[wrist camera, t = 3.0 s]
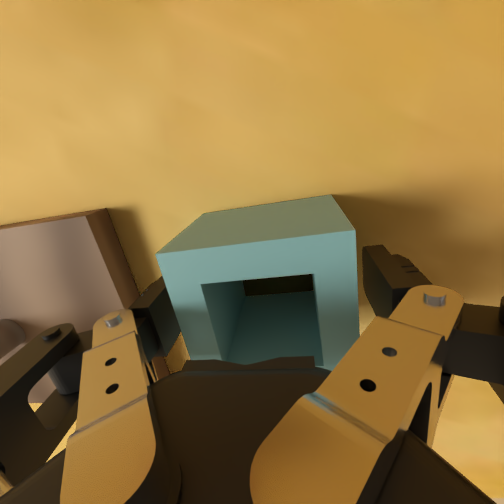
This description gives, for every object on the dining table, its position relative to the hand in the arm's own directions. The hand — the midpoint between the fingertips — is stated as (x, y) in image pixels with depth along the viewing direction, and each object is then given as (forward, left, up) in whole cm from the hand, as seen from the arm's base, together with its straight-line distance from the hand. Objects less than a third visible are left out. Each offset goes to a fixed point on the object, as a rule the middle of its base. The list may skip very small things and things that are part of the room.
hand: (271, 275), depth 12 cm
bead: (0, 0, -1) cm, 1 cm away
